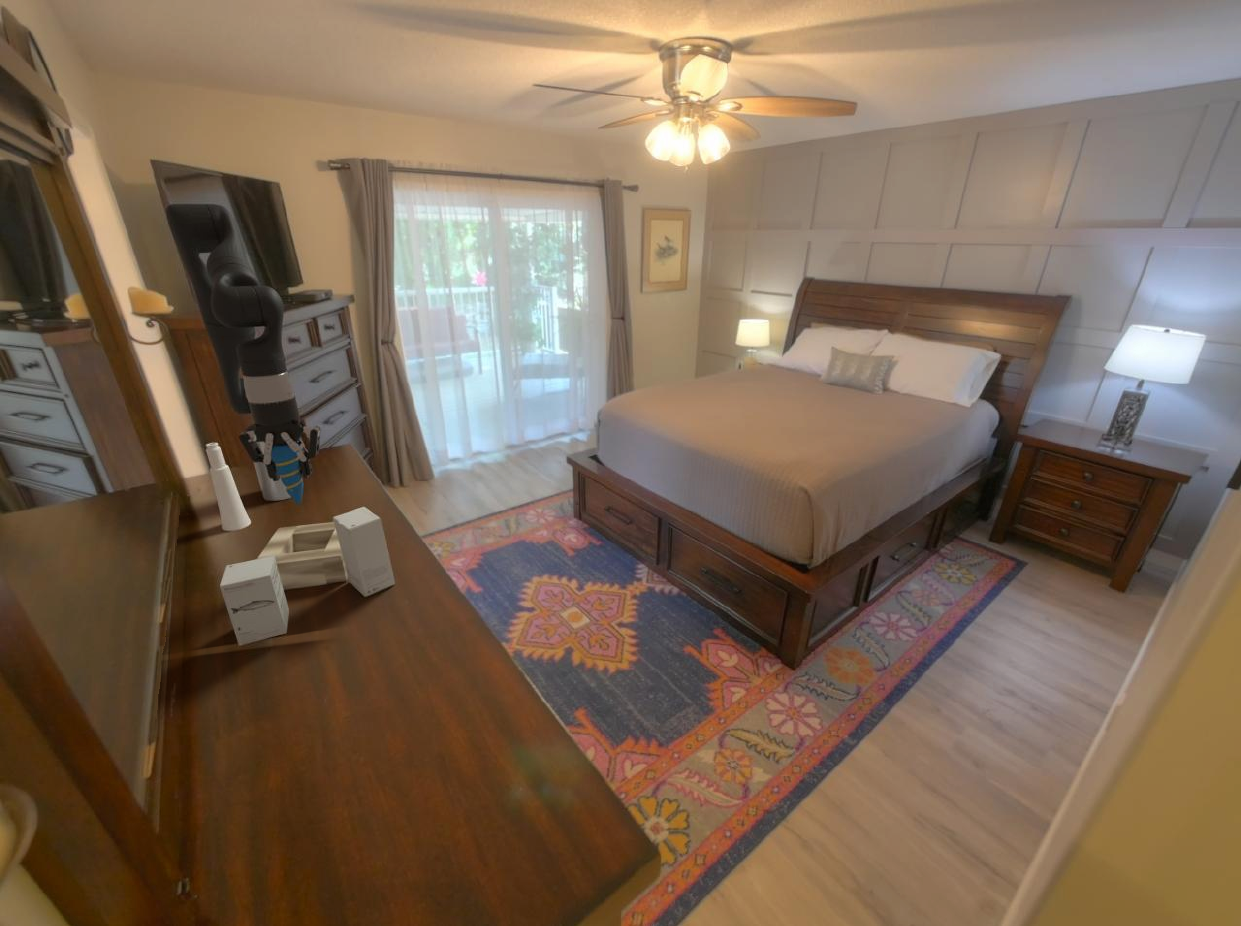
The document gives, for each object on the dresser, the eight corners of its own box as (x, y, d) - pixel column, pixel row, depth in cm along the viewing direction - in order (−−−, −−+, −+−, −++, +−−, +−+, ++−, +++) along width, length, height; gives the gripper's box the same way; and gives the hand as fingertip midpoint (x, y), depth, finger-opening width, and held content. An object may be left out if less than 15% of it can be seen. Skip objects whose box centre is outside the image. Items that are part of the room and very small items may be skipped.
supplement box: (238, 647, 88) (217, 586, 83) (244, 622, 94) (225, 564, 89) (288, 634, 91) (270, 574, 86) (291, 610, 97) (274, 553, 92)
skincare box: (395, 585, 105) (383, 518, 99) (363, 599, 100) (347, 530, 95) (378, 569, 110) (365, 504, 104) (346, 582, 106) (331, 515, 100)
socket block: (285, 552, 116) (278, 527, 114) (361, 543, 120) (356, 519, 118) (259, 593, 102) (251, 566, 100) (346, 581, 106) (340, 555, 104)
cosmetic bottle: (252, 528, 126) (227, 445, 118) (222, 535, 123) (194, 450, 115) (251, 518, 131) (228, 438, 123) (222, 525, 128) (196, 442, 120)
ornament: (318, 499, 108) (302, 431, 102) (301, 510, 103) (284, 440, 97) (295, 497, 108) (278, 430, 103) (278, 508, 103) (259, 439, 98)
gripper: (318, 389, 102) (335, 468, 109) (236, 394, 99) (259, 474, 105) (307, 399, 95) (326, 482, 102) (219, 404, 92) (244, 489, 98)
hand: (292, 477), depth 103 cm, fingers closed on ornament, 5 cm apart
